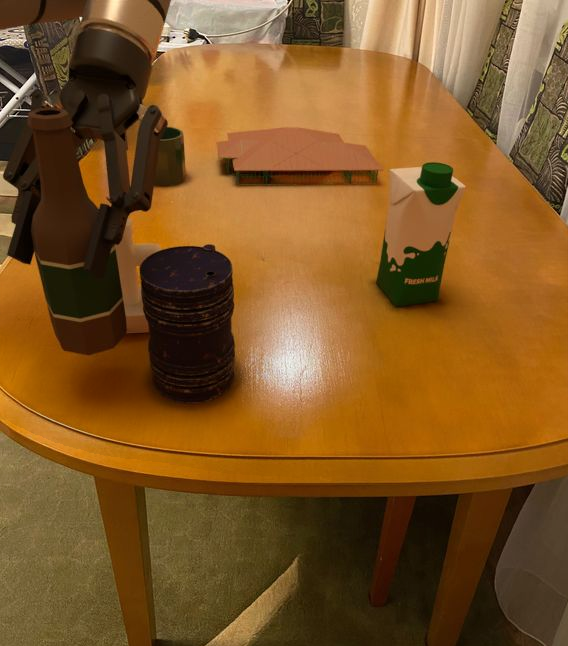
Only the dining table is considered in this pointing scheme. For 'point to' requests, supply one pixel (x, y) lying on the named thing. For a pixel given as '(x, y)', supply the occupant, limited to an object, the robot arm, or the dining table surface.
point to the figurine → (133, 278)
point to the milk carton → (418, 232)
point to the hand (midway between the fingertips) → (55, 266)
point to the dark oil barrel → (189, 322)
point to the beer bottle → (71, 244)
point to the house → (295, 153)
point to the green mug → (170, 159)
